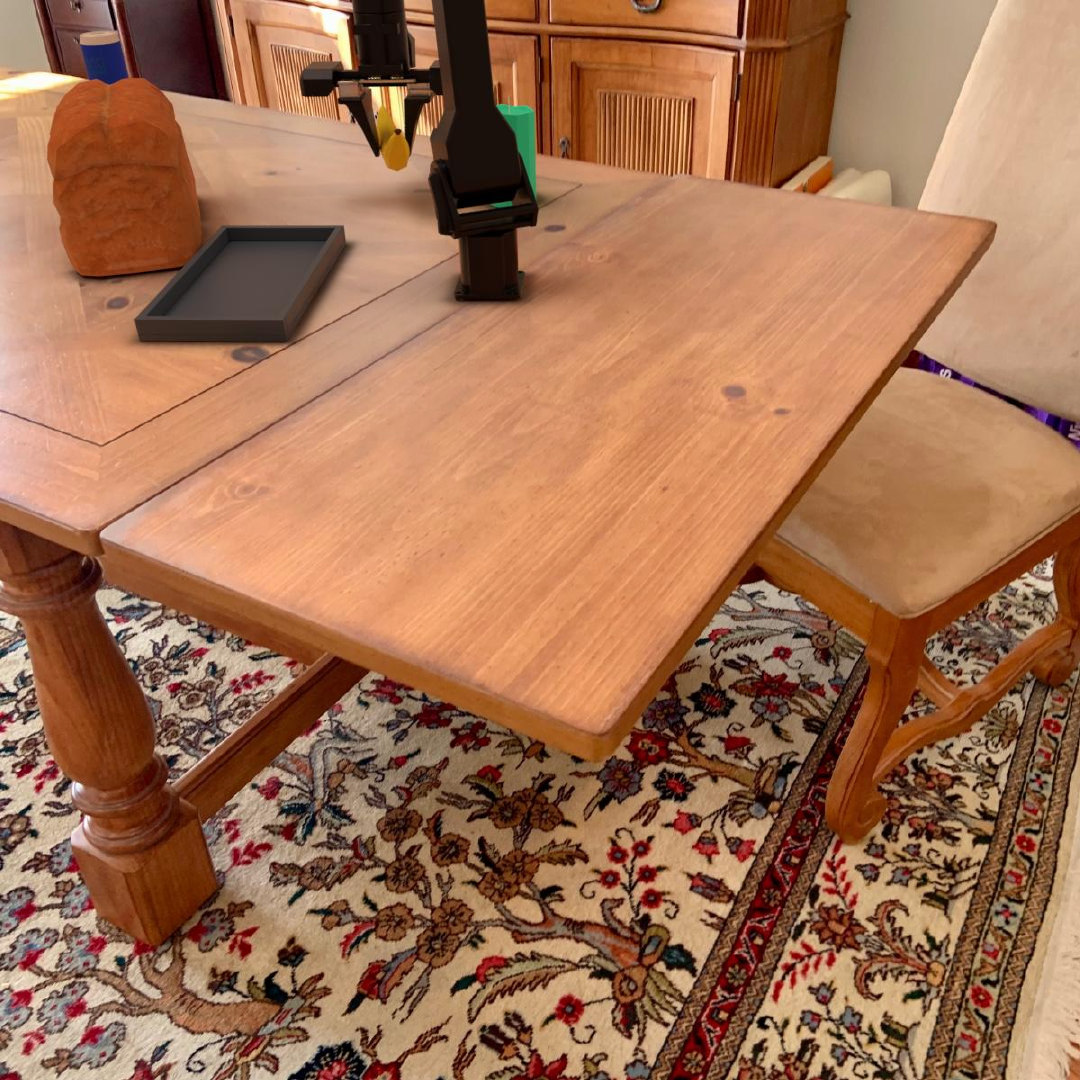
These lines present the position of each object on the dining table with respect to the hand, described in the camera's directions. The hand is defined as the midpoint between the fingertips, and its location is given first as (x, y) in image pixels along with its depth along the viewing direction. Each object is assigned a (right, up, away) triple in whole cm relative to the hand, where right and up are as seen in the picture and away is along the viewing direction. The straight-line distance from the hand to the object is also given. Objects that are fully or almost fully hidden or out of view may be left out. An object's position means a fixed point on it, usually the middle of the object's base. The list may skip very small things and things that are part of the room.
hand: (393, 156), depth 122 cm
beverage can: (-42, +11, +26) cm, 51 cm away
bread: (-28, -11, -5) cm, 31 cm away
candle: (+14, -5, +2) cm, 15 cm away
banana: (0, -1, +1) cm, 1 cm away
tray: (-11, -20, -19) cm, 30 cm away
